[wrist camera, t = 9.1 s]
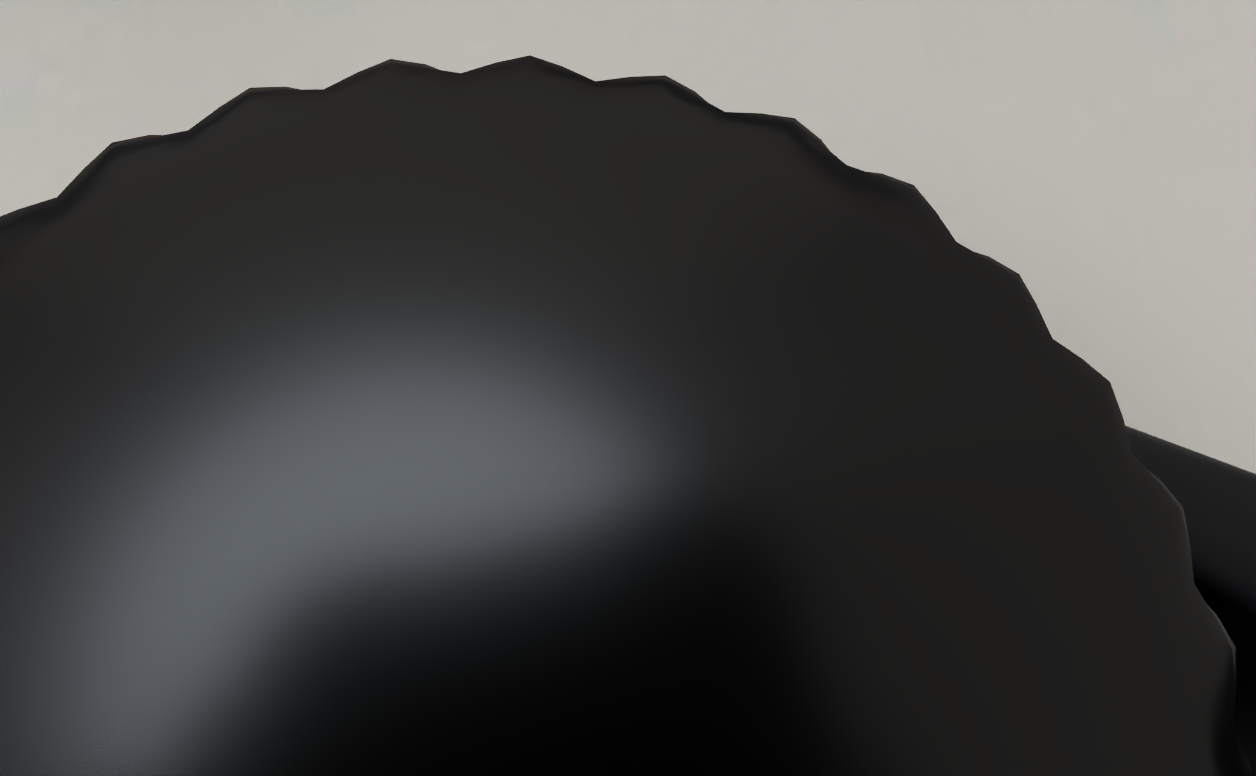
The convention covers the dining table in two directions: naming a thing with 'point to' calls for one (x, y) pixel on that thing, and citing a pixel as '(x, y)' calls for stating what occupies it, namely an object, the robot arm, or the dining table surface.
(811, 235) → the supplement bottle
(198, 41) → the dining table surface
